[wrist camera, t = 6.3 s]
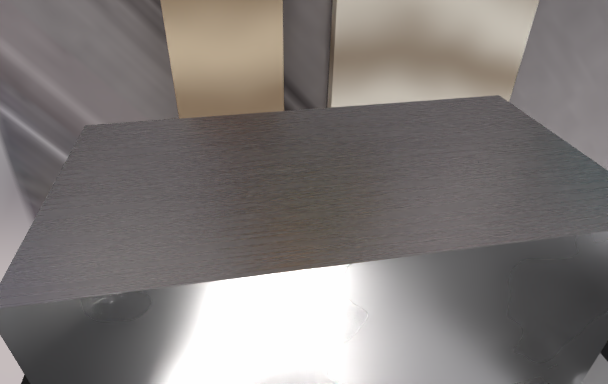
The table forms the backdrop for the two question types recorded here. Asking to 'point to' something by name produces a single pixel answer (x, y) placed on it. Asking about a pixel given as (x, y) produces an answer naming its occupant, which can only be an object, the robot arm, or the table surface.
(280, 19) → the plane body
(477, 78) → the ash board
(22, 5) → the table surface
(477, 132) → the white block with stub
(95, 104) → the table surface
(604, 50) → the table surface
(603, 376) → the robot arm
